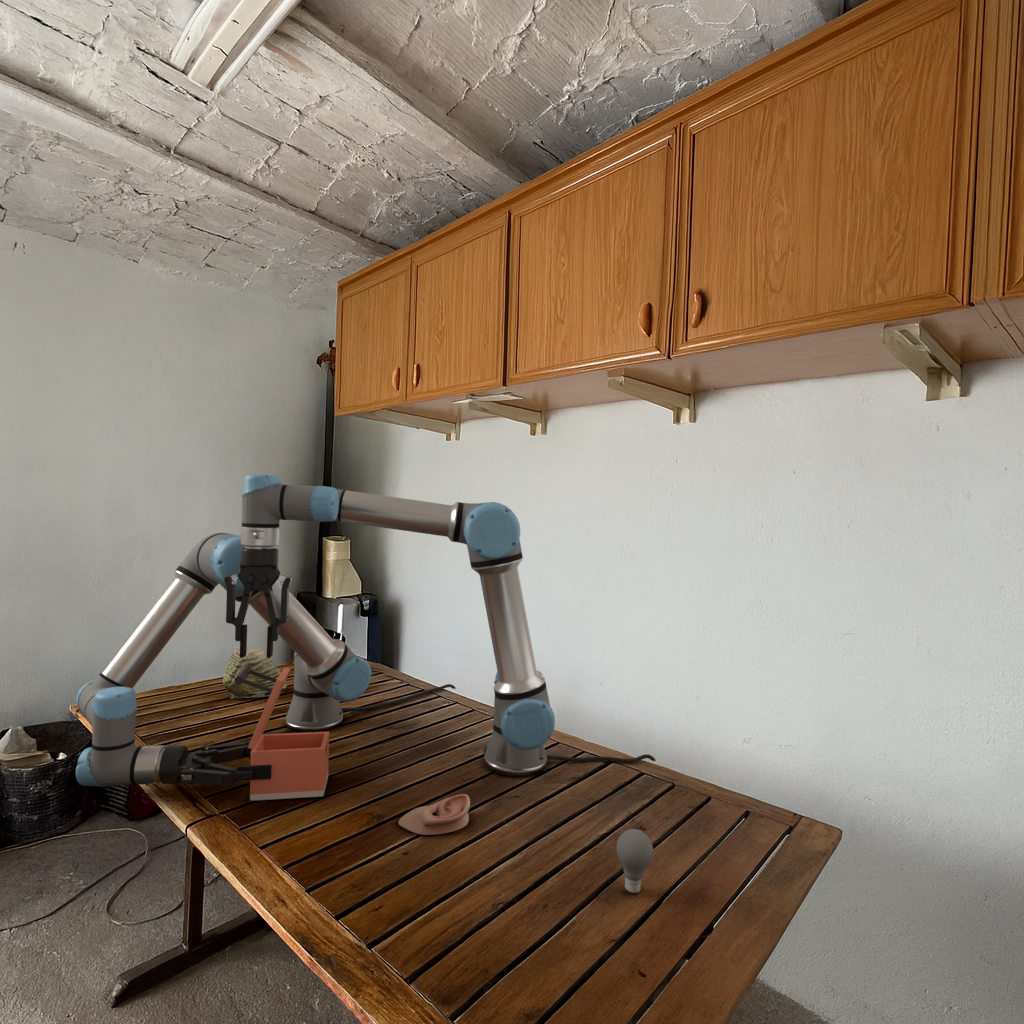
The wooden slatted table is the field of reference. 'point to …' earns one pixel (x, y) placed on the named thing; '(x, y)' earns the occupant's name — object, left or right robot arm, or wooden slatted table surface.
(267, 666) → the fossil
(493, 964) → the wooden slatted table surface
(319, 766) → the chest
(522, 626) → the right robot arm
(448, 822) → the anatomical model
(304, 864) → the wooden slatted table surface
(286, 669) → the lid
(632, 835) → the light bulb
